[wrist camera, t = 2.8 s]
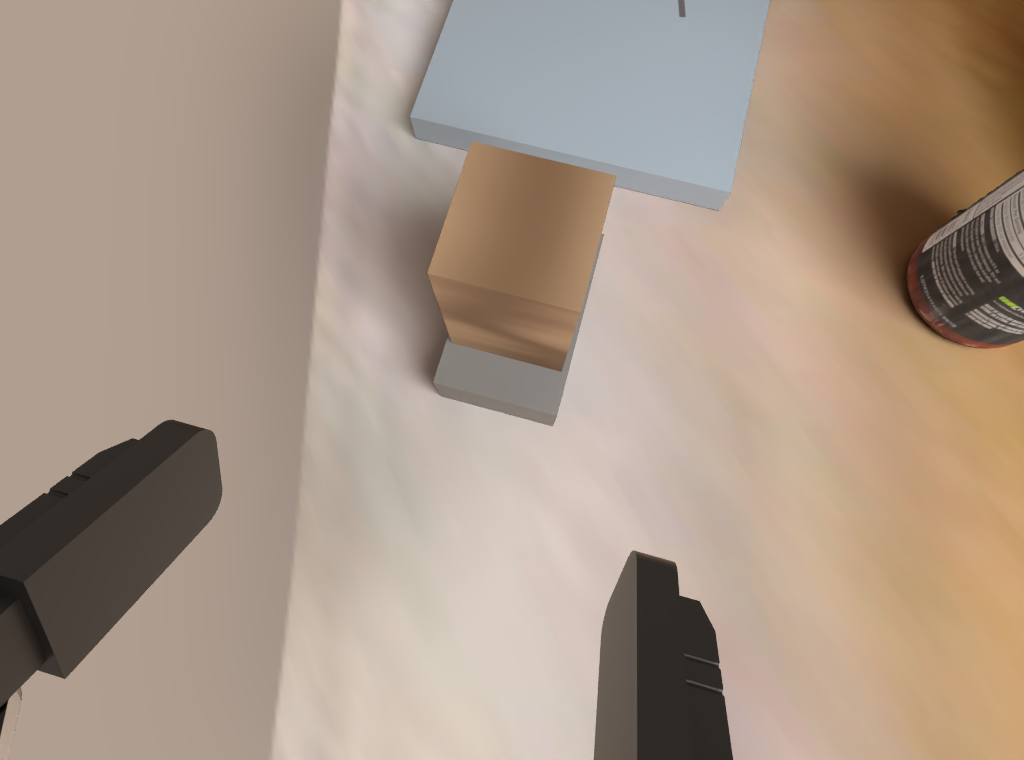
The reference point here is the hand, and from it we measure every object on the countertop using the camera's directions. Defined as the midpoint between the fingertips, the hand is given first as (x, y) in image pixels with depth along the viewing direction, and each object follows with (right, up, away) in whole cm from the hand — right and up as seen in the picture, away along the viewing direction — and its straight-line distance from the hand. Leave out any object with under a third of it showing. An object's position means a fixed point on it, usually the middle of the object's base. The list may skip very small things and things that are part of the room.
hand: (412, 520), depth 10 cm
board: (+7, +23, +19) cm, 30 cm away
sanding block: (+2, +5, +15) cm, 16 cm away
